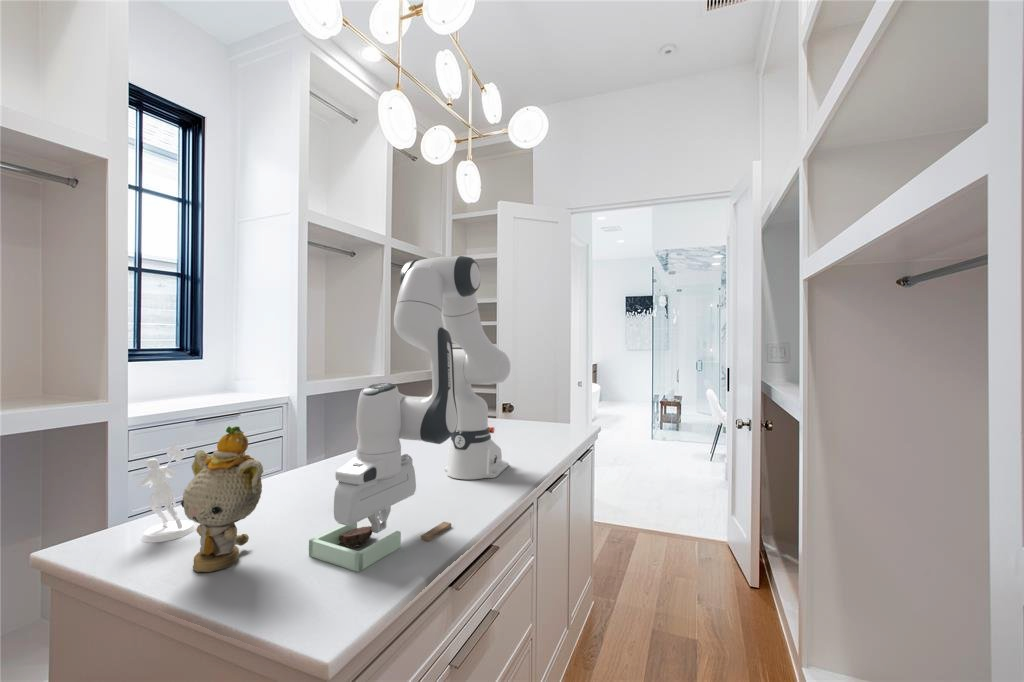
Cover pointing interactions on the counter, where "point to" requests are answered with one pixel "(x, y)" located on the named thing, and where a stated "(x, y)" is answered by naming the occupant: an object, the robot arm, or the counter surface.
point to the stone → (356, 536)
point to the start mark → (435, 531)
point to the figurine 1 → (164, 501)
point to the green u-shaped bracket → (348, 558)
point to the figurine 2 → (222, 499)
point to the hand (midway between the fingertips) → (378, 530)
